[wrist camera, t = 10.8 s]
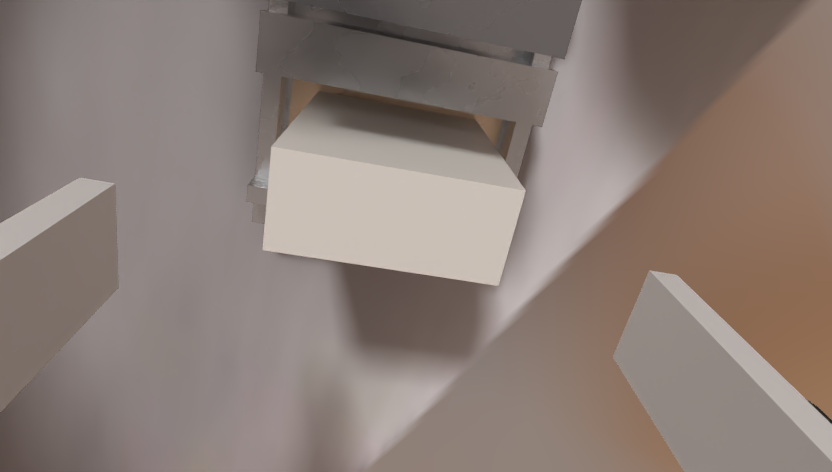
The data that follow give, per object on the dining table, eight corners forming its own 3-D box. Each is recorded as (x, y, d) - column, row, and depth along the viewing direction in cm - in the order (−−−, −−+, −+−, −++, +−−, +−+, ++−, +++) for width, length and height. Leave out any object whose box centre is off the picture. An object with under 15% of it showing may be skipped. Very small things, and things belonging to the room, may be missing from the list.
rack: (265, 201, 29) (187, 320, 18) (294, -140, 23) (204, -269, 12) (484, 237, 31) (535, 368, 20) (569, -74, 24) (713, -136, 13)
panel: (310, 159, 27) (262, 250, 17) (318, 90, 26) (271, 146, 16) (461, 184, 28) (498, 285, 18) (476, 120, 27) (525, 190, 17)
